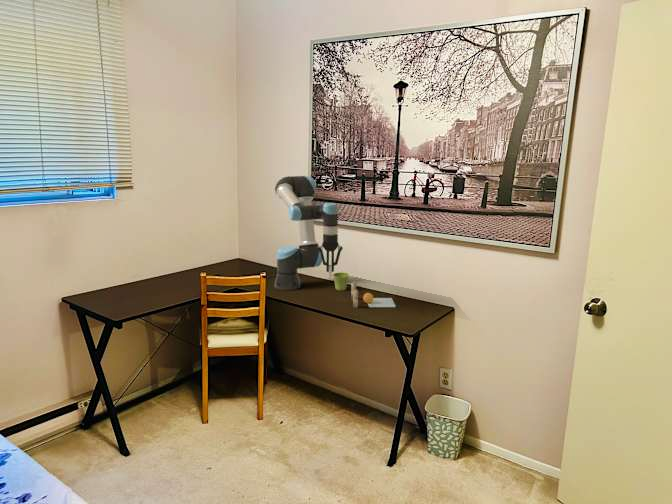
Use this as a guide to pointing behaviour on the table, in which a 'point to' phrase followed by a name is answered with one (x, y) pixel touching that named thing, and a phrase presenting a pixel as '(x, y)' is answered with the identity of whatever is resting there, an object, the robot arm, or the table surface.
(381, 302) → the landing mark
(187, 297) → the table surface
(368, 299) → the ball
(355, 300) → the gate post
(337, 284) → the plant pot
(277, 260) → the robot arm
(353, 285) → the gate post
